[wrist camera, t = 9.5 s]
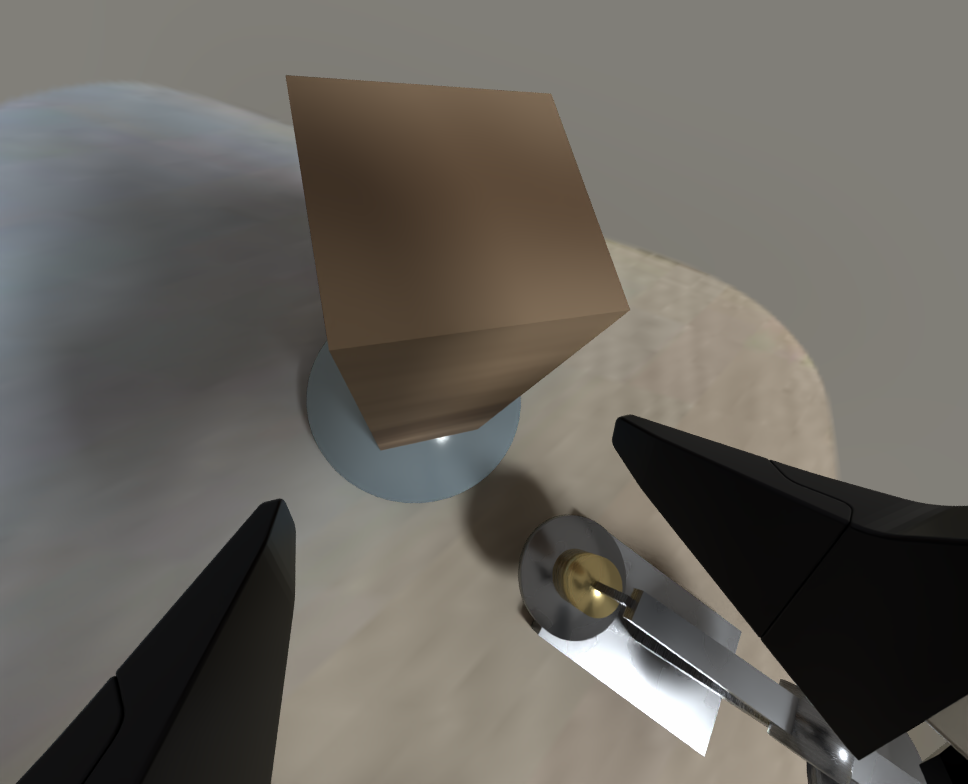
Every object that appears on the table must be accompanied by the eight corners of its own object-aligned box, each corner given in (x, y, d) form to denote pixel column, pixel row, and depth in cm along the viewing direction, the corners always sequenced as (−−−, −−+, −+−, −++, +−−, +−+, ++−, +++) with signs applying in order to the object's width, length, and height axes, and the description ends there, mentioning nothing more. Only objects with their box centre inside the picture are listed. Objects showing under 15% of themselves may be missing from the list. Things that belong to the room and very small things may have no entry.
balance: (771, 659, 20) (1115, 816, 10) (740, 780, 18) (1134, 1117, 8) (537, 485, 19) (669, 481, 10) (476, 587, 17) (569, 707, 8)
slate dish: (548, 383, 21) (555, 378, 20) (440, 547, 17) (442, 550, 16) (403, 274, 21) (403, 263, 20) (261, 416, 17) (253, 411, 16)
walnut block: (477, 429, 18) (630, 309, 6) (380, 450, 17) (329, 351, 5) (456, 342, 19) (550, 93, 7) (363, 356, 18) (286, 75, 6)
